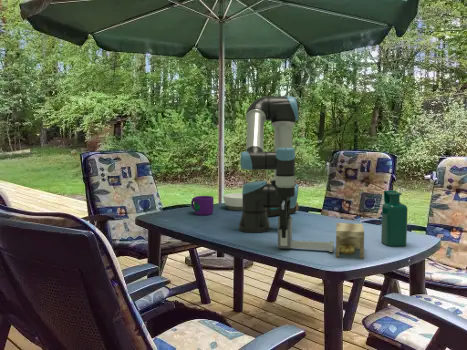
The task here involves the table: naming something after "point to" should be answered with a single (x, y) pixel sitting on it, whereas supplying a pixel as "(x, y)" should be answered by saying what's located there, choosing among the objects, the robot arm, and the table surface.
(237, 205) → the bowl
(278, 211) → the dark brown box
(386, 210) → the green bottle
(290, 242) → the bracket
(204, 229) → the table surface
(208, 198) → the mug
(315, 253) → the table surface
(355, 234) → the shelf
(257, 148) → the robot arm
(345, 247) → the yellow lumpy disc
